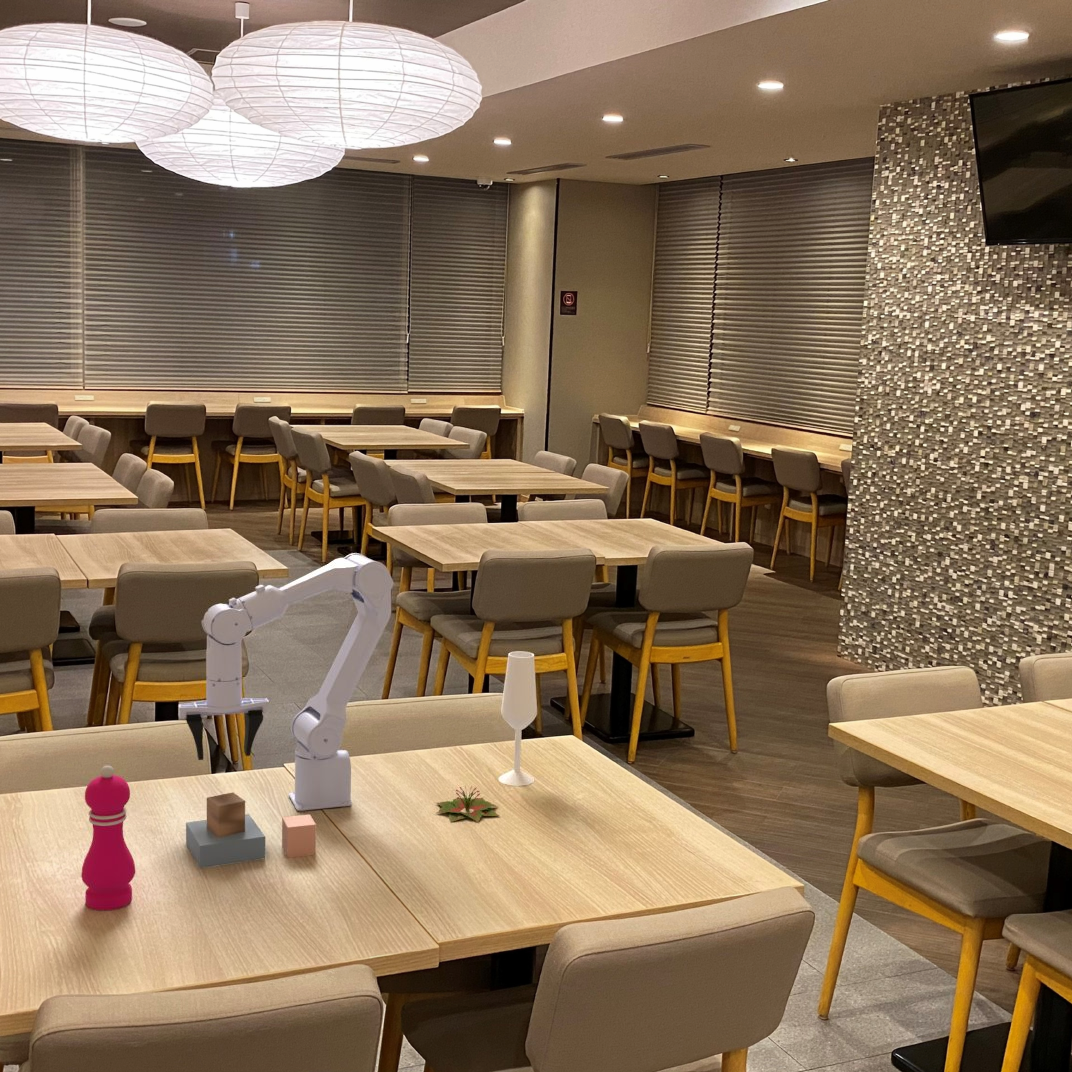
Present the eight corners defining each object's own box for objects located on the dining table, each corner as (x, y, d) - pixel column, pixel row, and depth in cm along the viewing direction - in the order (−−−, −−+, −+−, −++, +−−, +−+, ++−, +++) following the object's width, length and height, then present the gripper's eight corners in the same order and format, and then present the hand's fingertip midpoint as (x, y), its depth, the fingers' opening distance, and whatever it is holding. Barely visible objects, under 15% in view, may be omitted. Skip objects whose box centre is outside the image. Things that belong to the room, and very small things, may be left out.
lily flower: (488, 797, 225) (489, 773, 224) (511, 821, 214) (512, 796, 213) (424, 804, 221) (424, 779, 220) (444, 829, 210) (445, 803, 209)
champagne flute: (534, 786, 230) (539, 659, 227) (497, 785, 231) (502, 658, 227) (534, 774, 237) (539, 650, 233) (499, 772, 237) (503, 649, 234)
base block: (248, 837, 203) (248, 814, 203) (265, 860, 194) (265, 836, 194) (186, 846, 199) (186, 822, 198) (199, 871, 190) (199, 845, 189)
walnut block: (233, 822, 199) (233, 792, 198) (245, 831, 195) (245, 800, 195) (206, 828, 196) (206, 797, 195) (218, 837, 193) (218, 806, 192)
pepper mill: (85, 916, 173) (83, 777, 170) (78, 895, 179) (76, 760, 176) (139, 907, 176) (138, 770, 173) (130, 886, 183) (129, 754, 179)
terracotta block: (309, 844, 201) (309, 814, 200) (315, 854, 197) (315, 824, 196) (281, 847, 199) (282, 817, 198) (287, 858, 195) (287, 827, 194)
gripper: (264, 668, 214) (263, 745, 216) (176, 673, 208) (176, 752, 210) (271, 679, 207) (270, 758, 209) (180, 684, 202) (181, 765, 204)
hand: (223, 756), depth 209 cm, fingers open, 7 cm apart
